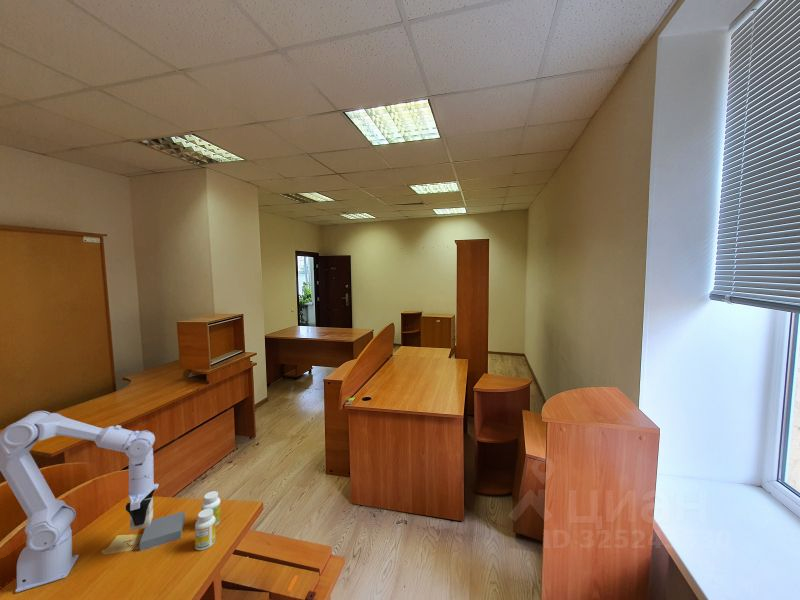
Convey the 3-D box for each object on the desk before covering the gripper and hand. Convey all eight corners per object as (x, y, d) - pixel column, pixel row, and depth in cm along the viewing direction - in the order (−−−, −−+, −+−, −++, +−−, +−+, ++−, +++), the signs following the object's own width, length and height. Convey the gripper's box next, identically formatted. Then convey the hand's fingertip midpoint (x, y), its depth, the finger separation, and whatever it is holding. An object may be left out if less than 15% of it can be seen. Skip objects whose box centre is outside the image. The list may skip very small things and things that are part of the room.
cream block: (130, 531, 90) (129, 510, 90) (134, 521, 94) (134, 501, 94) (149, 525, 92) (149, 506, 92) (153, 516, 96) (152, 497, 96)
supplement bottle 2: (201, 553, 91) (201, 521, 91) (191, 546, 93) (191, 515, 93) (219, 540, 96) (219, 510, 96) (209, 534, 98) (209, 504, 98)
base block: (139, 552, 92) (139, 542, 92) (147, 530, 100) (147, 521, 100) (180, 539, 96) (180, 530, 96) (184, 519, 105) (184, 510, 105)
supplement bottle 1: (211, 530, 100) (211, 501, 100) (197, 528, 101) (197, 498, 101) (224, 519, 105) (224, 490, 105) (210, 516, 106) (210, 488, 106)
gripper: (152, 483, 88) (152, 530, 89) (162, 459, 101) (163, 500, 101) (120, 490, 85) (120, 539, 85) (135, 465, 98) (135, 507, 98)
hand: (141, 518), depth 93 cm, fingers closed on cream block, 4 cm apart
